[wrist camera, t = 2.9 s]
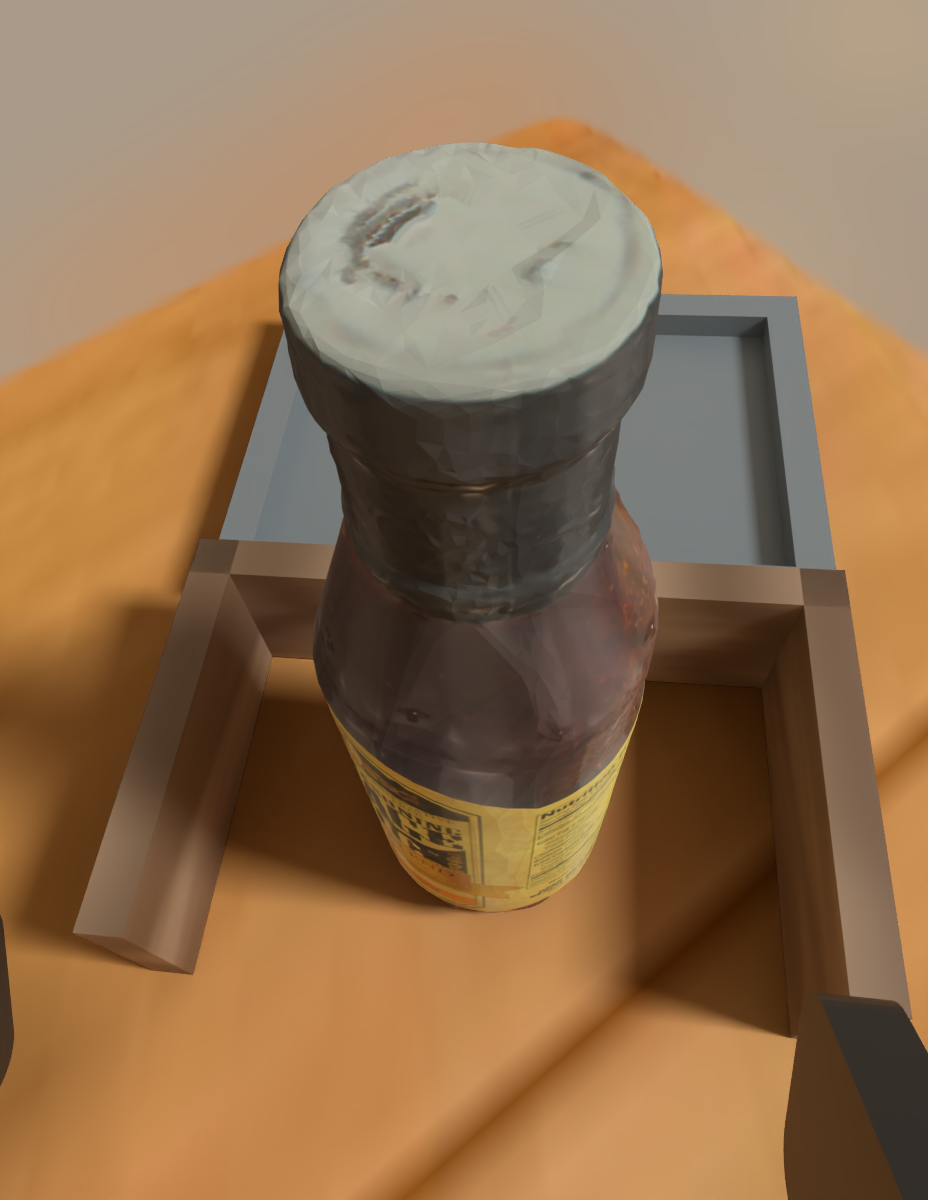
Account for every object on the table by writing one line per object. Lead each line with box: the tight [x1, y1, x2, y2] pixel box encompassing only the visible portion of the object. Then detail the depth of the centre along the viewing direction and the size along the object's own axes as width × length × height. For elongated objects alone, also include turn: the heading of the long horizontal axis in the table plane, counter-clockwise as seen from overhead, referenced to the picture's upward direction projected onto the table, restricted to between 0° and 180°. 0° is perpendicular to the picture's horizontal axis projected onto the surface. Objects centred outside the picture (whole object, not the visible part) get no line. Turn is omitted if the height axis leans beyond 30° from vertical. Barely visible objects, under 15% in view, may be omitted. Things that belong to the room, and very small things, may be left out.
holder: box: [72, 538, 912, 1039], centre depth 24 cm, size 18×11×5 cm, turn 84°
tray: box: [219, 294, 836, 570], centre depth 32 cm, size 20×14×2 cm
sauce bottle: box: [279, 142, 663, 913], centre depth 17 cm, size 6×6×20 cm
